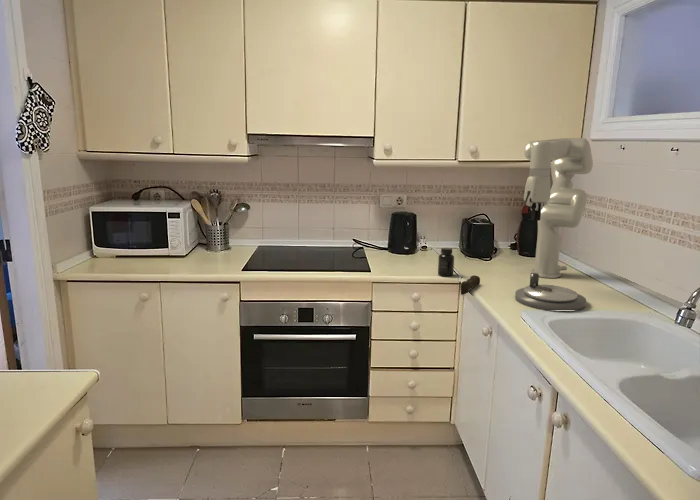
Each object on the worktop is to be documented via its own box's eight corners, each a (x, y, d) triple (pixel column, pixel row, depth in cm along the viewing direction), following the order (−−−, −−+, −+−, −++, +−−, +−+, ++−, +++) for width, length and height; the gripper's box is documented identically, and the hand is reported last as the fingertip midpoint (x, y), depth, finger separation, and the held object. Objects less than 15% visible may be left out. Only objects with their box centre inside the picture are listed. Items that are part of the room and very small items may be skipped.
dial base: (555, 290, 189) (556, 284, 188) (601, 308, 166) (602, 302, 166) (502, 294, 183) (502, 288, 182) (542, 314, 160) (542, 307, 159)
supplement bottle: (456, 275, 210) (458, 249, 207) (445, 277, 206) (446, 250, 204) (445, 272, 215) (446, 246, 213) (434, 274, 212) (435, 248, 209)
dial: (587, 297, 171) (589, 279, 170) (557, 305, 162) (559, 287, 160) (543, 285, 186) (544, 269, 185) (513, 292, 176) (515, 275, 175)
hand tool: (470, 283, 198) (471, 272, 197) (480, 285, 196) (480, 274, 195) (454, 294, 182) (454, 283, 181) (464, 296, 180) (464, 284, 179)
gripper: (544, 173, 192) (540, 218, 196) (518, 173, 185) (514, 220, 189) (560, 173, 186) (556, 220, 190) (533, 174, 179) (529, 222, 183)
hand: (535, 220), depth 189 cm, fingers closed
